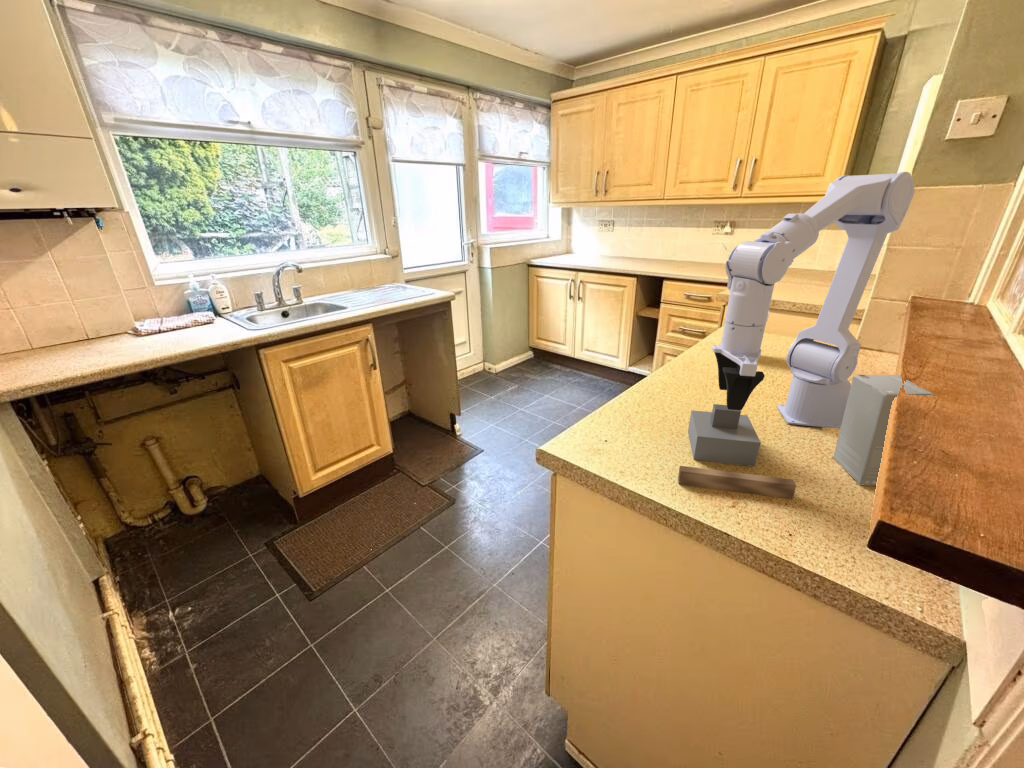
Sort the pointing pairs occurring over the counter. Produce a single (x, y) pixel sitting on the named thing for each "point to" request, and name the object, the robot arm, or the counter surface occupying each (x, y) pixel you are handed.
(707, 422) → the grey stemmed block
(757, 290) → the robot arm
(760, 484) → the stopper
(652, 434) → the counter surface
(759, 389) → the counter surface
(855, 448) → the skincare box
